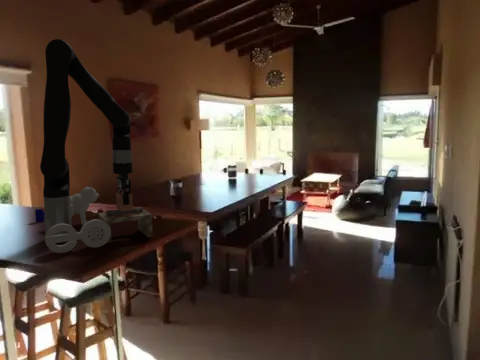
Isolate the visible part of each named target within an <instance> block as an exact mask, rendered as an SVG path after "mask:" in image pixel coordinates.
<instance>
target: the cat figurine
mask: <svg viewBox="0 0 480 360" xmlns="http://www.w3.org/2000/svg"><path fill="white" fill-rule="evenodd" d="M98 197H101V196H100V195H99V193H98V192H97V191H96V189H95V188H94V187H91V186H85V187H84V188H83V189H81V190H80V192H79V193H75V194H72V195H70V209H71V219H72V218H73V216H75V215H79V218H80V221H81V225H82V226H83V225H84V224H85V223H86V222H88V220H86V213H87V211H88V209H89V207H90V205H91V204H92V203H94V202H96V201H97V199H98ZM43 220H45V219H43ZM71 226H72V227H73V225H72V224H71Z"/></svg>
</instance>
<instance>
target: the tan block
mask: <svg viewBox="0 0 480 360" xmlns="http://www.w3.org/2000/svg"><path fill="white" fill-rule="evenodd" d="M115 195H116V196H115V197H116V210H119V209H120V211H128V210H133V208H134V206H133V204H134V202H133V193H132V192H131V194H130V195H129V205H124V204H123V193H122V192H120V193H119V192H116V193H115Z"/></svg>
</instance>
